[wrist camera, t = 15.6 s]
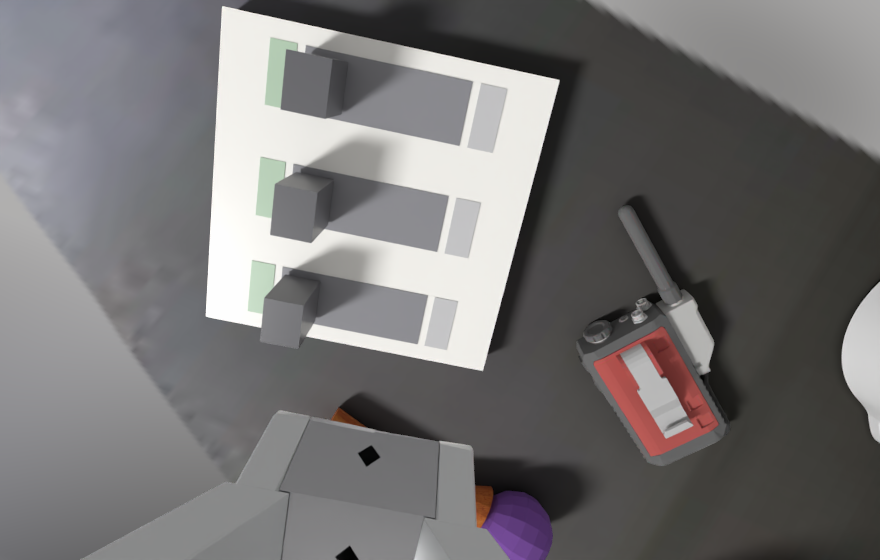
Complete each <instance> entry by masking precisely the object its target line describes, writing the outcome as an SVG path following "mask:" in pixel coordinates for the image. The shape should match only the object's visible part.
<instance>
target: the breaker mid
mask: <svg viewBox="0 0 880 560" xmlns="http://www.w3.org/2000/svg"><path fill="white" fill-rule="evenodd" d="M333 184H334V180H333V179H328V178H324V177H319V176H314V175H309V174H304V173H299V172H295V173H293V174H292V175H290V176H288V177H286V178H284V179H283V180H281V181H279V182H277V183H275V187H274V198H273V209H272V219H271V230H270V235H273V236H278V237H283V238H288V239H293V240H298V241H303V242H308V243H312V242H313V241H314V240H315V239H316V238H317V237H318V235H319V234H320V233H321V232H322V231H323V230H324V229H325V228H326V227H327V226H328V221H329V214H330V206H331V199H332V191H333Z"/></svg>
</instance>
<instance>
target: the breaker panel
mask: <svg viewBox="0 0 880 560" xmlns="http://www.w3.org/2000/svg"><path fill="white" fill-rule="evenodd" d="M286 49H289V50H294V51H299V52H304V53H309V54H314V55H318V56H323V57H328V58H332V59H337V60H342V61H346V62H348V69H347V76H346V84H345V91H344V99H343V107H342V114H341V115H338V116H334V117H331V118H327V119H323V118H318V117H313V116H309V115H304V114H299V113H295V112H290V111H285V110H280V109H281V98H282V87H283V77H284V66H285V55H286ZM559 81H560V80H557V79H552V78H548V77H543V76H539V75H534V74H529V73H525V72H520V71H516V70H511V69H507V68H502V67H497V66H493V65H488V64H484V63H479V62H475V61H470V60H466V59H461V58H456V57H452V56H447V55H443V54H438V53H434V52H429V51H424V50H420V49H415V48H411V47H406V46H402V45H397V44H393V43H388V42H383V41H379V40H374V39H370V38H365V37H361V36H356V35H351V34H347V33H342V32H338V31H333V30H329V29H324V28H320V27H315V26H310V25H306V24H301V23H297V22H292V21H288V20H283V19H278V18H274V17H269V16H265V15H260V14H256V13H251V12H247V11H242V10H237V9H233V8H228V7H224V6H222V20H221V38H220V57H219V76H218V95H217V114H216V133H215V152H214V171H213V190H212V209H211V228H210V247H209V266H208V285H207V304H206V317H210V318H215V319H220V320H225V321H230V322H236V323H241V324H246V325H251V326H256V327H261V326H262V315H263V305H264V297H265V296H266V295H267V294H268V293H269V292H270V291H271V290H272V289H273V287H274V286H275V285H276V284H277V283H278V282H279V281H280V280H281V279H282V277H283V276H284V275H285V274H286V275H291V276H296V277H301V278H306V279H311V280H316V281H321V282H320V289H319V297H318V304H317V312H316V319H315V322H314V324H313V325H312V327H311V329H310V330H309V332H308V334H307V335H306V336H307V337H312V338H317V339H322V340H328V341H333V342H338V343H343V344H348V345H353V346H358V347H363V348H368V349H374V350H379V351H384V352H389V353H394V354H399V355H404V356H409V357H414V358H420V359H425V360H430V361H435V362H440V363H445V364H450V365H455V366H460V367H466V368H471V369H476V370H481V371H483V368H484V365H485V361H486V357H487V353H488V349H489V346H490V342H491V338H492V334H493V331H494V327H495V323H496V319H497V315H498V312H499V308H500V304H501V300H502V297H503V293H504V289H505V285H506V281H507V278H508V274H509V270H510V266H511V263H512V259H513V255H514V251H515V247H516V244H517V240H518V236H519V232H520V229H521V225H522V221H523V217H524V213H525V210H526V206H527V202H528V198H529V195H530V191H531V187H532V183H533V179H534V176H535V172H536V168H537V164H538V161H539V157H540V153H541V149H542V145H543V142H544V138H545V134H546V130H547V127H548V123H549V119H550V115H551V111H552V108H553V104H554V100H555V96H556V93H557V89H558V85H559ZM295 172H299V173H304V174H309V175H314V176H319V177H324V178H328V179H333V180H334V184H333V191H332V199H331V206H330V214H329V221H328V226H327V227H326V228H325V229H324V230H323V231H322V232H321V233H320V234H319V235H318V237H317V238H316V239H315V240H314V241H313V242H312V243H308V242H303V241H298V240H293V239H288V238H283V237H278V236H273V235H270V230H271V219H272V209H273V198H274V187H275V183H277V182H279V181H281V180H283V179H284V178H286V177H288V176H290V175H292V174H293V173H295Z"/></svg>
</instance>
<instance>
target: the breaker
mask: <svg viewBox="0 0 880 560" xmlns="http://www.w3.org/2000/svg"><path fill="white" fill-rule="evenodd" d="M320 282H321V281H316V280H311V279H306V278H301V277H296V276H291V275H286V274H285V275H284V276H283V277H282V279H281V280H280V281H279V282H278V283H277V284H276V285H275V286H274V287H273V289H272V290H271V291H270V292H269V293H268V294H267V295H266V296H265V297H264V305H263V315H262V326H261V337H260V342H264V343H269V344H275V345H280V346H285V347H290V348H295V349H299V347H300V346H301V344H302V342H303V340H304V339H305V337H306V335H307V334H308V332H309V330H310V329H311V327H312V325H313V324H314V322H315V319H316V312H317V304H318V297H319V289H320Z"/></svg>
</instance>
